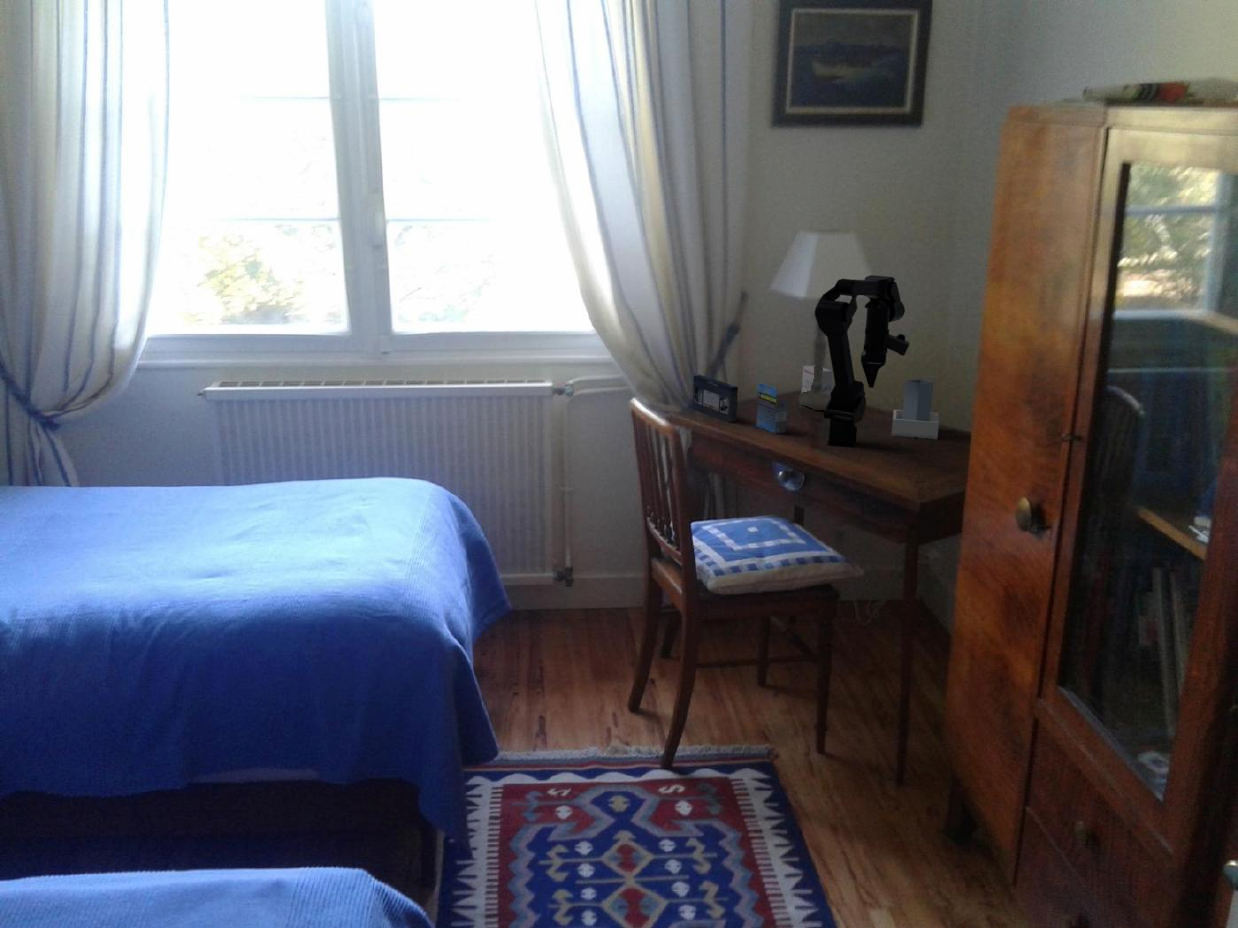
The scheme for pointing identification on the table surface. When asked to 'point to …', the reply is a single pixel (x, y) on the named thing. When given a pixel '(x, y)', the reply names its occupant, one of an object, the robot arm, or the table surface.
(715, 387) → the vhs cassette tape
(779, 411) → the label tape box
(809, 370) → the ink box
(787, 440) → the table surface
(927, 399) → the grey hollow square tube
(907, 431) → the cream crate
